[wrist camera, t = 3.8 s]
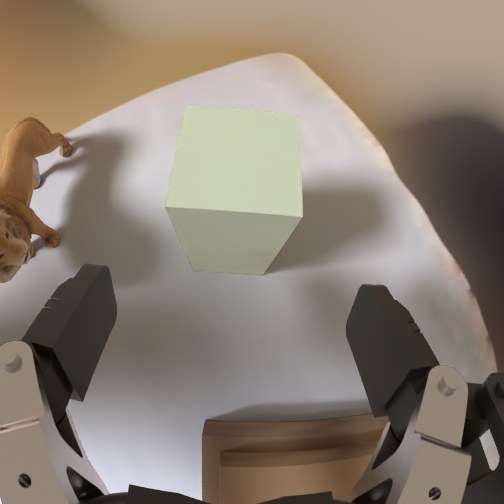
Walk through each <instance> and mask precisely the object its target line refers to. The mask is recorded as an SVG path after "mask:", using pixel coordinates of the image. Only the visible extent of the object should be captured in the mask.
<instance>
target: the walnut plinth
mask: <svg viewBox="0 0 504 504" xmlns="http://www.w3.org/2000/svg"><path fill="white" fill-rule="evenodd" d="M388 422H389V418H388V416H382V417H376V418H374V415H373V413H371V414H364V415H357V416H350V417H342V418H332V419H322V420H309V421H290V422H231V421H213V420H205V424H204V429H203V435H202V501H204V502H207V503H211V504H257V503H261V502H265V501H269V500H273V499H276V498H280V497H283V496H294V495H304V494H313V493H321V492H328V491H332V496H333V499H337V500H343V501H344V500H345V498H346V496H347V495H348V493H349V492H350V490H351V489H352V488H353V486H354V485H355V484H356V483H357V481H358V480H359V479H360V478H361V477H362V475H363V474H364V472H365V470H366V468H367V466H368V464H369V462H370V460H371V458H372V456H373V454H374V452H375V449H376V447H377V445H378V443H379V440H380V438H381V436H382V433H383V431H384V429H385V427H386V425H387V423H388Z"/></svg>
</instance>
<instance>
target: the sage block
mask: <svg viewBox="0 0 504 504" xmlns="http://www.w3.org/2000/svg"><path fill="white" fill-rule="evenodd" d="M165 208H166V210H167V212H168V215H169V217H170V219H171V222H172V224H173V226H174V228H175V231H176V233H177V235H178V238H179V240H180V242H181V244H182V246H183V249H184V251H185V253H186V255H187V257H188V260H189V262H190V264H191V266H192V268H193V270H194V271H207V272H221V273H236V274H251V275H263V274H264V273H265V271H266V270H267V269H268V267H269V266H270V264H271V263H272V261H273V260H274V258H275V257H276V256H277V254H278V253H279V251H280V250H281V248H282V247H283V245H284V244H285V242H286V241H287V240H288V238H289V237H290V235H291V234H292V232H293V231H294V229H295V228H296V226H297V225H298V223H299V222H300V221H301V219H302V218H303V201H302V170H301V147H300V129H299V115H293V114H286V113H278V112H270V111H260V110H250V109H238V108H224V107H203V106H186V109H185V113H184V117H183V121H182V126H181V130H180V134H179V139H178V143H177V148H176V152H175V157H174V162H173V167H172V172H171V177H170V182H169V188H168V194H167V199H166V205H165Z"/></svg>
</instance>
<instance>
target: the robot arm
mask: <svg viewBox="0 0 504 504" xmlns="http://www.w3.org/2000/svg"><path fill="white" fill-rule="evenodd" d="M116 316H117V305H116V300H115V295H114V290H113V285H112V280H111V275H110V271H109V268H108V267H107V266H101V265H92V264H85V265H83V266H82V268H81V269H80V270H79V272H78V273H77V274H76V276H75V277H74V278H70V279H68V280H67V281H65V282H64V283H63V284H61V285H60V286H59V287H58V288H57V289H56V291H55V292H54V293H53V295H52V296H51V299H49V300H48V302H47V303H46V304H45V308H43V309H42V310H41V312H40V313H39V314H38V316H37V317H36V319H35V320H34V322H33V323H32V325H31V326H30V328H29V329H28V331H27V332H26V334H25V336H24V337H23V339H22V340H21V341H10V342H7V343H5V344H3V345H2V346H1V347H0V498H1V501H2V504H211V503H207V502H204V501H200V500H197V499H194V498H191V497H188V496H185V495H182V494H179V493H174V492H167V491H161V490H155V489H150V488H145V487H140V486H135V485H130V484H129V489H128V492H121V493H112V494H110V493H109V492H108V490H107V488H106V486H105V484H104V483H103V481H102V479H101V478H100V476H99V475H98V473H97V472H96V471H95V469H94V468H93V466H92V465H91V463H90V461H89V460H88V457H87V455H86V453H85V451H84V448H83V446H82V444H81V441H80V439H79V436H78V434H77V431H76V429H75V426H74V423H73V421H72V418H71V415H70V412H69V410H68V408H67V404H68V402H69V399H74V400H77V401H81V402H83V400H84V397H85V394H86V392H87V389H88V386H89V384H90V381H91V378H92V376H93V373H94V371H95V368H96V366H97V363H98V361H99V358H100V356H101V354H102V351H103V349H104V346H105V344H106V342H107V339H108V337H109V335H110V333H111V330H112V328H113V326H114V324H115V321H116ZM346 336H347V339H348V342H349V345H350V348H351V350H352V353H353V356H354V359H355V362H356V365H357V367H358V370H359V373H360V376H361V379H362V382H363V385H364V388H365V391H366V394H367V397H368V400H369V403H370V406H371V409H372V412H373V415H374V418H376V417H382V416H388V418H389V422H388V423H387V425H386V427H385V429H384V431H383V433H382V436H381V438H380V440H379V443H378V445H377V447H376V449H375V452H374V454H373V456H372V458H371V460H370V462H369V464H368V466H367V468H366V470H365V472H364V474H363V475H362V477H361V478H360V479H359V480H358V481H357V483H356V484H355V485H354V486H353V488H352V489H351V490H350V492H349V493H348V495H347V496H346V498H345V500H344V501H343V500H337V499H333V496H332V491H328V492H321V493H313V494H304V495H294V496H283V497H280V498H276V499H273V500H269V501H265V502H261V503H257V504H504V375H503V374H501V373H492V374H490V375H489V377H488V378H487V379H486V380H485V381H484V383H483V384H474V383H466V381H465V379H464V377H463V376H462V375H461V374H460V373H459V372H458V371H457V370H455V369H454V368H452V367H449V366H445V365H440V364H439V362H438V360H437V359H436V357H435V355H434V353H433V352H432V350H431V348H430V346H429V345H428V343H427V341H426V339H425V338H424V336H423V334H422V333H420V329H419V328H418V326H417V324H416V323H414V319H413V318H412V316H411V315H410V313H409V311H408V310H407V309H406V308H405V307H404V306H403V305H401V304H400V303H399V302H398V301H397V300H394V298H393V297H392V295H391V294H390V292H389V291H388V289H387V287H386V286H384V285H369V284H363V285H361V287H360V288H359V290H358V293H357V296H356V298H355V301H354V304H353V307H352V309H351V312H350V314H349V317H348V320H347V324H346ZM488 429H490V431H491V434H492V436H493V439H494V442H495V444H496V447H497V450H498V453H499V456H500V461H499V464H498V466H497V468H496V469H495V470H494V471H492V470H491V469H490V468H489V465H488V462H487V459H486V456H485V453H484V450H483V447H482V444H481V441H480V439H479V437H480V436H482V435H483V434H484V433H485V432H486V431H487V430H488Z"/></svg>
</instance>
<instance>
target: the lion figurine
mask: <svg viewBox="0 0 504 504" xmlns="http://www.w3.org/2000/svg"><path fill="white" fill-rule="evenodd" d="M58 146H60V155H61V156H63V157H66V156H68V155H69V154H70V153H71V151H72V147H71V145H70V144H69V142H68V141H67V140H66V139H65V138H64V136H63V135H62V134H60V133H55V134H51V133H50V131H49V129H48V128H47V127H45V125H44V124H43V123H41V122H40V121H39V120H37V119H35V118H31V117H28V118H24V119H22V120H20V121H19V122H18V123H17V124H16V125H15V126H14V127H13V128H12V129H11V130H10V131H9V133H8V134H7V135H6V136H5V138H4V140H3V143H2V147H1V152H0V283H4V282H8V281H10V280H11V279H12V277H13V276H14V275H15V274H16V273H17V272H18V271H19V269H20V267H21V265H23V264H27V263H28V262H29V260H30V258H31V257H33V254H34V247H33V245H32V243H31V241H30V239H31V234H36V235H39V236H41V238H42V239H44V240H45V241H46V244H47V246H48V247H52V248H54V247H55V246H56V245H57V244H58V242H59V241H60V237H59V235H58V234H57V233H56V231H55V230H54V229H52V228H50V227H48V226H47V225H45V224H44V223H43V222H42V221H41V220H40V218H39V217H37V215H36V214H35V213H34V211H33V210H32V209H31V208H29V206H30V202H31V198H32V193H33V189H36V188H37V187H38V186H39V184H40V180H41V178H40V174H39V167H38V161H37V160H36V159H35V158H36V157H38V156H41V155H45V154H48V153H50V152H52V151H53V150H55V149H56V148H57V147H58Z"/></svg>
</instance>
